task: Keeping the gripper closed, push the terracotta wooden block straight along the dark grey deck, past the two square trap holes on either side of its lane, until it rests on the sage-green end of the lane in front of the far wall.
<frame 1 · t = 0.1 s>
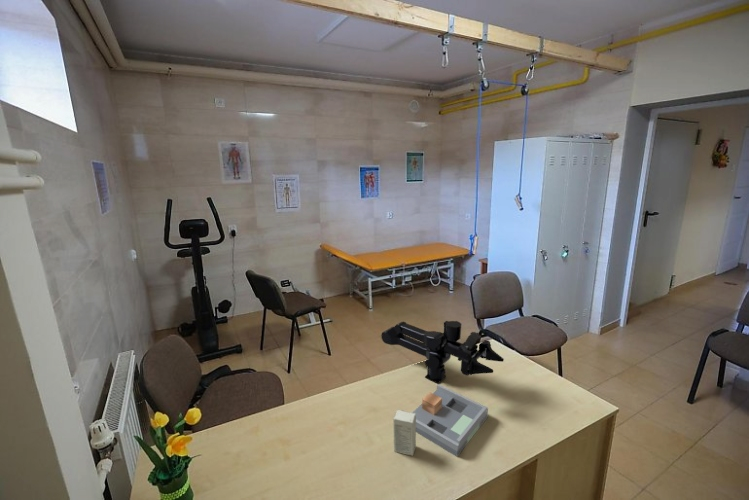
hand: (498, 365, 123), 17 cm above the table, tool horizontal, fingers open, 9 cm apart
skincare box: (404, 449, 109), on the table
block: (431, 408, 123), point 2 cm above the table, touching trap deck
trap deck: (446, 421, 120), on the table
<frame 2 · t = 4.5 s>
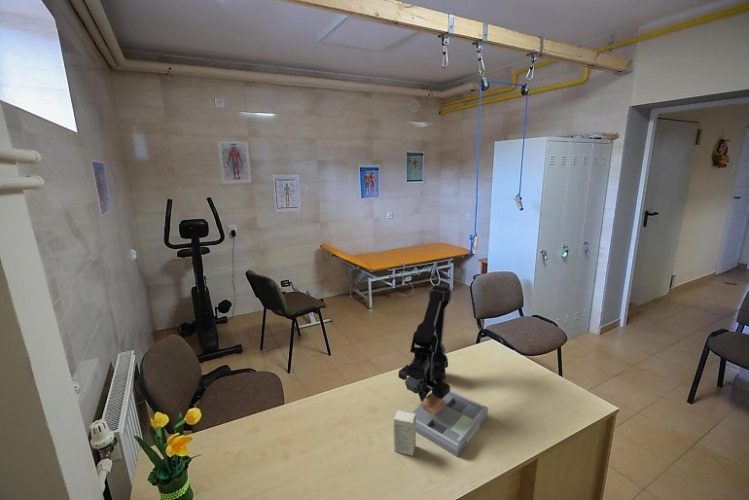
hand: (422, 400, 125), 3 cm above the table, tool pointing down, fingers closed
block: (432, 408, 123), point 2 cm above the table, touching gripper, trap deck
everything else where it was.
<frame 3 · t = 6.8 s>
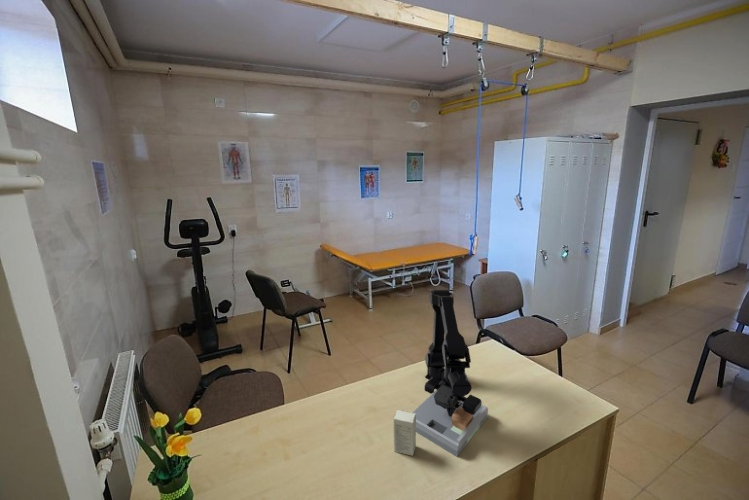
hand: (450, 415, 118), 3 cm above the table, tool pointing down, fingers closed
block: (462, 424, 116), point 2 cm above the table, touching gripper, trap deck
everything else where it was.
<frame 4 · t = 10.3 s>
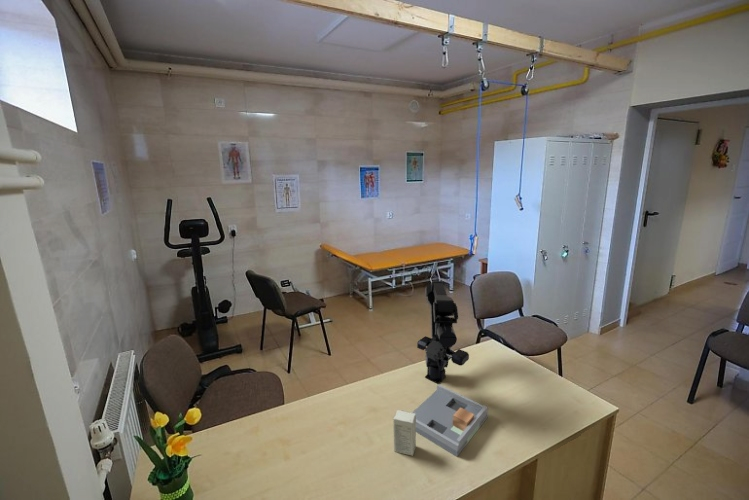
hand: (441, 370, 128), 12 cm above the table, tool pointing down, fingers closed
block: (462, 424, 115), point 2 cm above the table, touching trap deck
everything else where it was.
at the end: block 0.4 cm from the target spot on the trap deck, point 2.0 cm above the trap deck's base; block tilted 0°; block moved 12.1 cm from its start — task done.
